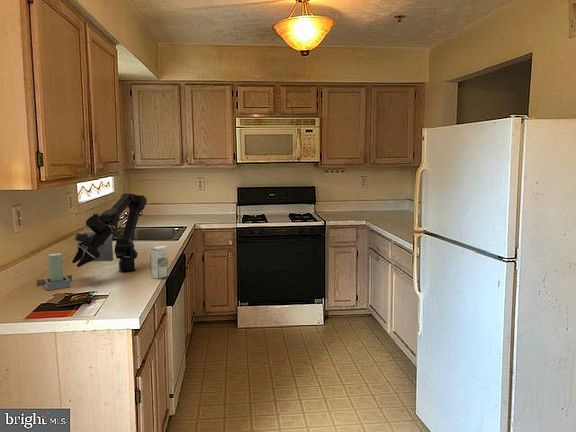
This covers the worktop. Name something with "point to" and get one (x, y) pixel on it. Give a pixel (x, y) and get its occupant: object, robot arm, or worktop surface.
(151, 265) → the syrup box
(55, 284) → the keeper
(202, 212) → the worktop surface
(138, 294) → the worktop surface
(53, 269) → the bar
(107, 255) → the flask
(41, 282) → the brown wooden bar
